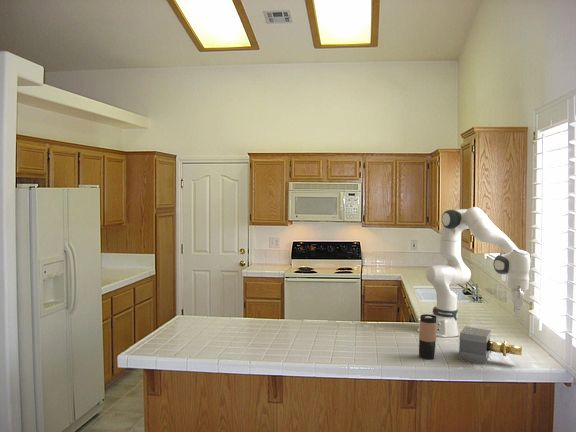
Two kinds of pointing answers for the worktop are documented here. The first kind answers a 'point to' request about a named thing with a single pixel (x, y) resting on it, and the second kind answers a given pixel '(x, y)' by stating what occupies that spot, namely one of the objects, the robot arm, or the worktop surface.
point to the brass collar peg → (503, 348)
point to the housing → (474, 345)
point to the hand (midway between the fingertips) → (516, 314)
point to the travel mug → (427, 336)
